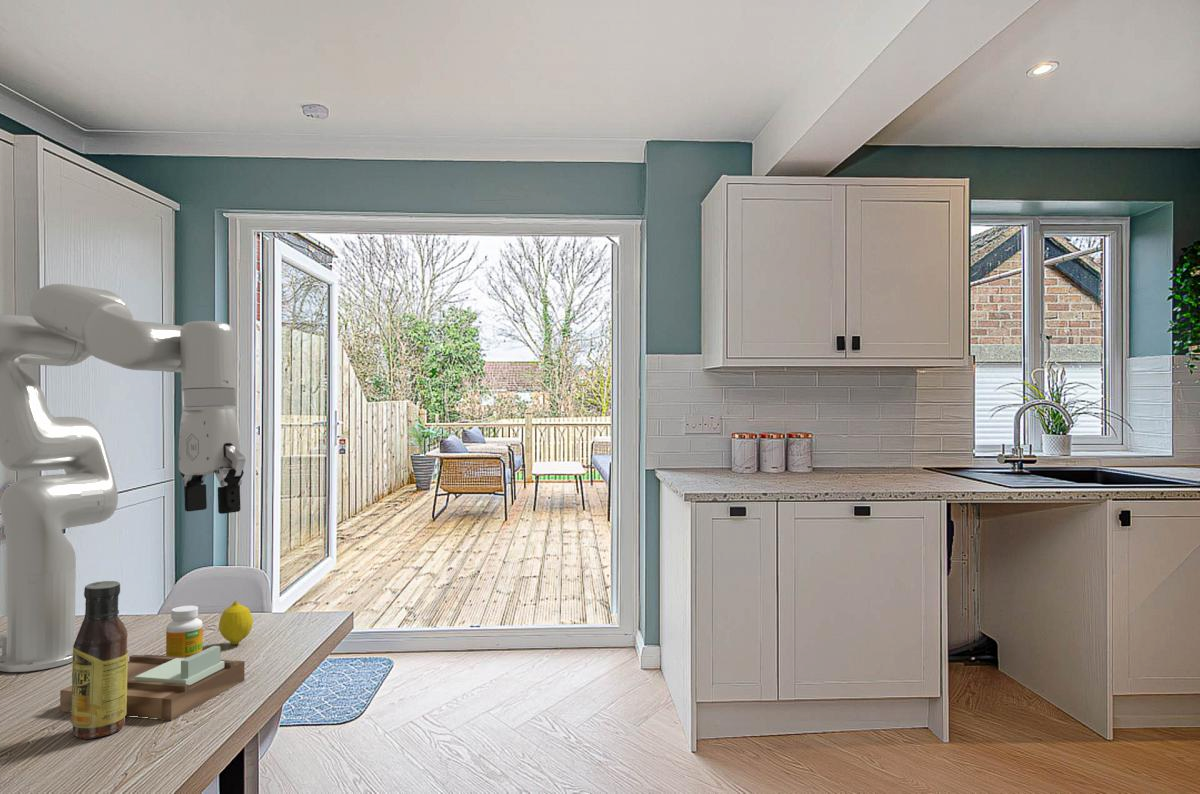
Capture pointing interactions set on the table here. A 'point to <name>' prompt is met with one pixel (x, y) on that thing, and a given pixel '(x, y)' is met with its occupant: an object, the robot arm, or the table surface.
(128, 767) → the table surface
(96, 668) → the sauce bottle
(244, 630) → the fruit
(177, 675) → the lid
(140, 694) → the wooden tray
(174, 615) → the supplement bottle
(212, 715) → the table surface
